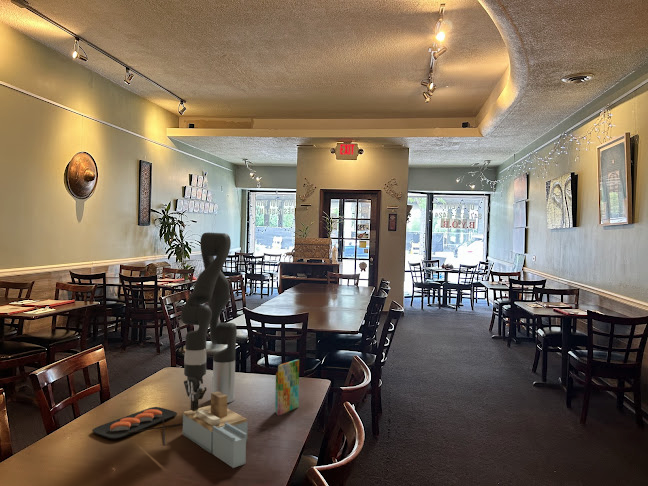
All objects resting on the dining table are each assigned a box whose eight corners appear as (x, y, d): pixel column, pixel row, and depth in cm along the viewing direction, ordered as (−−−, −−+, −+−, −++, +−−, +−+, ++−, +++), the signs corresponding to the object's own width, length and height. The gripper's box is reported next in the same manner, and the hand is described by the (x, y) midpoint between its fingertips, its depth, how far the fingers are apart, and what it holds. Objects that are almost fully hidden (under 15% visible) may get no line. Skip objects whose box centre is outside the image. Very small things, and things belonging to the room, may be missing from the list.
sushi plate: (155, 410, 191) (155, 401, 191) (209, 426, 176) (209, 416, 176) (88, 435, 166) (88, 424, 166) (145, 456, 151) (145, 444, 151)
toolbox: (182, 434, 167) (182, 408, 167) (217, 424, 177) (218, 400, 177) (232, 468, 143) (232, 438, 143) (269, 454, 152) (270, 426, 152)
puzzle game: (281, 416, 186) (282, 365, 186) (272, 413, 189) (273, 363, 189) (299, 408, 196) (300, 360, 196) (291, 405, 199) (292, 358, 199)
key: (195, 416, 163) (196, 410, 163) (202, 414, 164) (202, 408, 164) (213, 426, 154) (213, 420, 154) (219, 424, 156) (220, 418, 156)
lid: (183, 414, 167) (184, 392, 167) (217, 406, 176) (218, 384, 176) (211, 431, 153) (212, 407, 153) (246, 421, 162) (247, 398, 162)
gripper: (177, 359, 168) (176, 407, 168) (194, 366, 158) (193, 418, 158) (196, 356, 173) (195, 403, 173) (214, 363, 163) (213, 413, 163)
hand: (194, 410), depth 166 cm, fingers closed
